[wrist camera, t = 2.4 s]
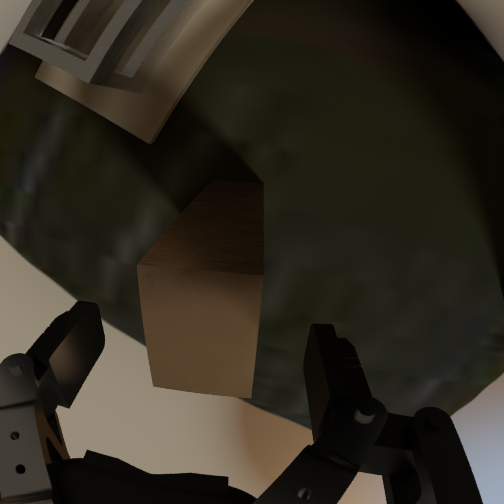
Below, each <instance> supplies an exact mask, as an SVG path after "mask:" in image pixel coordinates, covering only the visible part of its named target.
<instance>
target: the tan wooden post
mask: <svg viewBox="0 0 504 504" xmlns="http://www.w3.org/2000/svg"><path fill="white" fill-rule="evenodd" d="M137 272H138V282H139V292H140V301H141V310H142V318H143V325H144V333H145V340H146V346H147V353H148V359H149V365H150V370H151V376H152V382H153V386H155V387H160V388H166V389H173V390H180V391H187V392H195V393H202V394H212V395H220V396H231V397H242V398H251V395H252V385H253V376H254V366H255V357H256V347H257V337H258V327H259V317H260V307H261V296H262V286H263V273H264V183H252V182H238V181H222V180H212V181H211V182H210V183H209V184H208V185H207V186H206V187H205V188H204V190H203V191H202V192H201V193H200V194H199V195H198V196H197V197H196V198H195V199H194V200H193V201H192V202H191V204H190V205H189V206H188V207H187V208H186V209H185V210H184V211H183V212H182V213H181V215H180V216H179V217H178V218H177V219H176V220H175V221H174V222H173V223H172V225H171V226H170V227H169V228H168V229H167V230H166V231H165V232H164V234H163V235H162V236H161V237H160V238H159V239H158V240H157V242H156V243H155V244H154V245H153V246H152V247H151V249H150V250H149V251H148V252H147V253H146V254H145V256H144V257H143V258H142V259H141V260H140V262H139V263H138V264H137Z"/></svg>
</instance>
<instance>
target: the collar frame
mask: <svg viewBox="0 0 504 504" xmlns="http://www.w3.org/2000/svg"><path fill="white" fill-rule="evenodd" d="M113 1H114V0H80V1H79V3H78V4H77V6H76V7H75V9H74V10H73V12H72V13H71V15H70V16H69V18H68V20H67V21H66V23H65V24H64V26H63V28H62V29H61V31H60V33H59V35H58V36H57V38H56V40H52V39H49V38H45V37H41V35H42V33H43V32H44V30H45V28H46V26H47V25H48V23H49V21H50V20H51V18H52V16H53V15H54V13H55V11H56V10H57V8H58V7H59V5H60V4H61V2H62V0H32V2H31V3H30V5H29V7H28V8H27V10H26V12H25V13H24V15H23V17H22V19H21V20H20V22H19V24H18V26H17V28H16V30H15V31H14V33H13V35H12V37H11V39H10V41H9V44H11V45H13V46H15V47H17V48H19V49H22V50H24V51H26V52H28V53H30V54H32V55H34V56H36V57H38V58H40V59H42V60H44V61H46V62H48V63H50V64H52V65H54V66H56V67H58V68H60V69H62V70H64V71H66V72H68V73H70V74H72V75H73V76H75V77H77V78H79V79H81V80H83V81H85V82H87V83H88V84H94V85H100V86H105V87H110V88H116V89H121V90H126V91H130V92H135V93H140V94H141V92H142V91H143V89H144V87H145V86H146V84H147V82H148V81H149V79H150V78H151V76H152V75H153V73H154V71H155V70H156V68H157V67H158V65H159V64H160V62H161V61H162V59H163V58H164V56H165V55H166V53H167V52H168V50H169V49H170V48H171V46H172V45H173V43H174V42H175V41H176V39H177V38H178V36H179V35H180V34H181V32H182V31H183V30H184V28H185V27H186V26H187V24H188V23H189V22H190V20H191V19H192V18H193V16H194V15H195V14H196V13H197V11H198V10H199V9H200V8H201V6H202V5H203V4H204V3H205V1H206V0H171V1H170V3H169V4H168V5H167V7H166V8H165V9H164V10H163V12H162V13H161V14H160V16H159V17H158V18H157V20H156V21H155V23H154V24H153V25H152V27H151V28H150V29H149V31H148V32H147V34H146V35H145V37H144V38H143V40H142V41H141V43H140V44H139V46H138V47H137V49H136V50H135V52H134V53H133V55H132V56H131V58H130V59H129V61H128V63H127V64H126V66H125V67H124V69H123V70H122V69H120V68H118V67H117V65H118V63H119V62H120V60H121V59H122V57H123V55H124V54H125V52H126V51H127V49H128V48H129V46H130V44H131V43H132V41H133V40H134V38H135V37H136V35H137V34H138V33H139V31H140V30H141V28H142V27H143V25H144V24H145V23H146V21H147V20H148V18H149V17H150V16H151V14H152V13H153V12H154V10H155V9H156V8H157V6H158V5H159V4H160V2H161V1H162V0H125V1H124V2H123V4H122V5H121V7H120V8H119V9H118V11H117V12H116V14H115V15H114V17H113V18H112V19H111V21H110V22H109V24H108V25H107V27H106V28H105V30H104V32H103V33H102V35H101V36H100V38H99V39H98V41H97V43H96V44H95V46H94V48H93V49H92V51H91V53H88V52H86V51H84V50H82V49H83V47H84V45H85V44H86V42H87V40H88V39H89V37H90V36H91V34H92V32H93V31H94V29H95V28H96V26H97V25H98V23H99V21H100V20H101V18H102V17H103V16H104V14H105V13H106V11H107V10H108V8H109V7H110V5H111V4H112V3H113Z"/></svg>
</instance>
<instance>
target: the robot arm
mask: <svg viewBox="0 0 504 504" xmlns="http://www.w3.org/2000/svg"><path fill="white" fill-rule="evenodd" d="M503 294H504V286H503ZM104 345H105V335H104V330H103V326H102V321H101V316H100V311H99V307H98V305H97V304H96V303H92V302H85V301H77V302H76V303H75V305H74V306H73V307H72V308H71V309H70V310H69V311H66V312H65V313H63V314H61V315H59V316H58V317H57V318H55V319H54V321H53V322H52V323H51V324H50V327H47V329H46V330H45V331H44V333H42V334H41V336H40V337H39V338H38V339H37V340H36V342H35V343H34V344H33V345H32V346H31V348H30V349H29V350H28V351H27V352H26V354H22V353H17V354H13V355H10V356H8V357H7V358H5V359H4V360H3V361H2V363H1V364H0V504H337V503H338V501H339V500H340V499H341V497H342V496H343V494H344V493H345V491H346V490H347V488H348V487H349V485H350V484H351V482H352V481H353V479H354V478H355V476H356V475H357V473H358V472H364V473H370V474H376V475H382V478H383V484H384V490H385V495H386V501H387V504H483V502H482V499H481V496H480V493H479V490H478V487H477V484H476V481H475V478H474V475H473V472H472V470H471V467H470V464H469V461H468V459H467V456H466V454H465V451H464V448H463V446H462V444H461V441H460V438H459V436H458V434H457V431H456V429H455V426H454V424H453V421H452V419H451V418H450V416H449V415H448V414H447V413H446V412H444V411H443V410H441V409H439V408H436V407H424V408H421V409H420V410H418V411H417V412H416V414H415V415H414V417H410V416H403V415H397V414H392V413H389V412H387V409H386V407H385V406H384V404H383V403H381V402H380V401H379V400H377V399H375V398H373V397H372V395H371V392H370V389H369V386H368V383H367V380H366V378H365V375H364V372H363V369H362V367H361V364H360V361H359V359H358V355H357V353H356V350H355V347H354V346H353V345H352V344H351V343H350V342H349V341H348V340H347V339H346V338H337V335H336V332H335V329H334V326H333V325H332V324H312V325H311V327H310V331H309V336H308V341H307V346H306V351H305V356H304V365H303V369H304V378H305V385H306V391H307V398H308V405H309V412H310V420H311V427H312V434H313V442H314V444H313V445H308V446H306V447H305V448H304V449H303V450H302V451H301V453H300V454H299V455H298V456H297V457H296V458H295V460H293V462H292V463H291V464H290V465H289V466H288V467H287V468H286V469H285V470H284V472H283V473H282V474H281V475H280V476H279V477H278V478H277V479H276V480H275V481H274V482H273V483H272V484H271V485H270V486H269V488H267V489H266V491H265V492H263V494H261V495H260V497H259V498H255V497H254V496H252V495H250V494H248V493H246V492H245V491H242V490H240V489H237V488H234V487H231V486H228V477H225V476H213V475H205V474H197V473H178V474H150V473H147V472H145V471H143V470H141V469H138V468H136V467H134V466H132V465H130V464H128V463H126V462H124V461H122V460H120V459H118V458H114V457H111V456H107V455H103V454H100V453H97V452H93V451H90V450H87V451H86V453H85V456H84V458H72V459H71V458H70V456H69V454H68V452H67V448H66V445H65V442H64V438H63V434H62V431H61V427H60V423H59V419H58V415H57V413H56V411H55V410H56V408H57V406H58V405H59V406H63V407H66V408H70V406H71V405H72V403H73V401H74V399H75V397H76V396H77V394H78V392H79V390H80V389H81V387H82V385H83V383H84V382H85V380H86V378H87V376H88V374H89V373H90V371H91V370H92V368H93V366H94V364H95V363H96V361H97V359H98V358H99V356H100V354H101V353H102V351H103V349H104Z"/></svg>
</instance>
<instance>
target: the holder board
mask: <svg viewBox="0 0 504 504" xmlns="http://www.w3.org/2000/svg"><path fill="white" fill-rule="evenodd" d="M79 1H80V0H78V2H77V3H76V5H75V6H74V8H73V9H72V11H71V12H70V14H69V15H68V17H67V19H66V20H65V22H64V23H63V25H62V27H61V28H60V30H59V32H58V34H57V35H56V37H55V39H54V40H56V38H57V36H58V35H59V33H60V31H61V29H62V28H63V26H64V24H65V23H66V21H67V20H68V18H69V16H70V15H71V13H72V12H73V10H74V9H75V7H76V6H77V4H78V3H79ZM124 1H125V0H114V1H113V3H112V4H111V5H110V7H109V8H108V10H107V11H106V13H105V14H104V16H103V17H102V18H101V20H100V21H99V23H98V25H97V26H96V28H95V29H94V31H93V32H92V34H91V36H90V37H89V39H88V40H87V42H86V44H85V45H84V47H83V49H82V50H84V51H86V52H88V53H91V51H92V49H93V48H94V46H95V44H96V43H97V41H98V39H99V38H100V36H101V35H102V33H103V32H104V30H105V28H106V27H107V25H108V24H109V22H110V21H111V19H112V18H113V17H114V15H115V14H116V12H117V11H118V9H119V8H120V7H121V5H122V4H123V2H124ZM170 1H171V0H162V1H161V2H160V4H159V5H158V6H157V8H156V9H155V10H154V12H153V13H152V14H151V16H150V17H149V18H148V20H147V21H146V23H145V24H144V25H143V27H142V28H141V30H140V31H139V33H138V34H137V35H136V37H135V38H134V40H133V41H132V43H131V44H130V46H129V48H128V49H127V51H126V52H125V54H124V55H123V57H122V59H121V60H120V62H119V63H118V65H117V67H118V68H120V69H122V70H123V69H124V67H125V66H126V64H127V63H128V61H129V59H130V58H131V56H132V55H133V53H134V52H135V50H136V49H137V47H138V46H139V44H140V43H141V41H142V40H143V38H144V37H145V35H146V34H147V32H148V31H149V29H150V28H151V27H152V25H153V24H154V23H155V21H156V20H157V18H158V17H159V16H160V14H161V13H162V12H163V10H164V9H165V8H166V7H167V5H168V4H169V3H170ZM253 1H254V0H206V1H205V3H204V4H203V5H202V6H201V8H200V9H199V10H198V11H197V13H196V14H195V15H194V16H193V18H192V19H191V20H190V22H189V23H188V24H187V26H186V27H185V28H184V30H183V31H182V32H181V34H180V35H179V36H178V38H177V39H176V41H175V42H174V43H173V45H172V46H171V48H170V49H169V50H168V52H167V53H166V55H165V56H164V58H163V59H162V61H161V62H160V64H159V65H158V67H157V68H156V70H155V71H154V73H153V75H152V76H151V78H150V79H149V81H148V82H147V84H146V86H145V87H144V89H143V91H142V92H141V94H140V93H135V92H130V91H126V90H121V89H116V88H110V87H105V86H100V85H94V84H88V83H87V82H85V81H83V80H81V79H79V78H77V77H75V76H73V75H72V74H70V73H68V72H66V71H64V70H62V69H60V68H58V67H56V66H54V65H52V64H50V63H48V62H46V61H44V60H43V61H42V63H41V65H40V67H39V69H38V71H37V73H36V76H35V78H37V79H38V80H40V81H42V82H44V83H46V84H47V85H49V86H51V87H53V88H55V89H56V90H58V91H60V92H62V93H63V94H65V95H67V96H69V97H70V98H72V99H74V100H76V101H77V102H79V103H81V104H83V105H84V106H86V107H88V108H89V109H91V110H93V111H95V112H96V113H98V114H100V115H101V116H103V117H105V118H107V119H108V120H110V121H112V122H113V123H115V124H117V125H118V126H120V127H122V128H123V129H125V130H127V131H128V132H130V133H132V134H133V135H135V136H137V137H138V138H140V139H142V140H143V141H145V142H146V143H148V144H153V143H154V141H155V140H156V138H157V136H158V135H159V133H160V131H161V129H162V128H163V126H164V124H165V123H166V121H167V120H168V118H169V116H170V115H171V113H172V111H173V110H174V108H175V107H176V105H177V103H178V102H179V100H180V99H181V97H182V96H183V94H184V93H185V91H186V90H187V88H188V87H189V85H190V84H191V82H192V81H193V79H194V78H195V76H196V75H197V73H198V72H199V70H200V69H201V68H202V66H203V65H204V63H205V62H206V61H207V59H208V58H209V56H210V55H211V54H212V52H213V51H214V50H215V48H216V47H217V46H218V44H219V43H220V42H221V40H222V39H223V38H224V36H225V35H226V34H227V32H228V31H229V30H230V29H231V27H232V26H233V25H234V24H235V22H236V21H237V20H238V19H239V17H240V16H241V15H242V14H243V13H244V11H245V10H246V9H247V8H248V7H249V5H250V4H251V3H252V2H253Z"/></svg>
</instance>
